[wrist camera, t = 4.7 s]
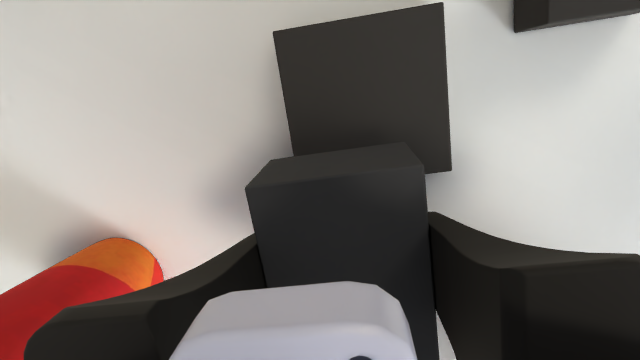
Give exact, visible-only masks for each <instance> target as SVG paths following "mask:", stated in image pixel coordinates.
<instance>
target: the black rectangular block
mask: <svg viewBox="0 0 640 360" xmlns="http://www.w3.org/2000/svg"><path fill="white" fill-rule="evenodd" d="M245 192H246V196H247V201H248V205H249V210H250V214H251V219H252V223H253V228H254V232H255V237H256V241H257V246H258V250H259V255H260V259H261V264H262V268H263V273H264V277H265V282H266V286H267V288H277V287H288V286H299V285H310V284H321V283H331V282H342V281H351V282H359V283H366V284H373V285H377V286H378V287H380V288H381V289H383V290H384V291H386V292H387V293H388V294H390V295H391V296H393V297H394V298H396V299H397V300H398V301H399V302H400V305H401V307H402V309H403V312H404V314H405V316H406V318H407V321H408V323H409V327H410V331H411V335H412V340H413V344H414V348H415V352H416V356H417V360H439V348H438V336H437V323H436V311H435V298H434V286H433V273H432V260H431V248H430V235H429V223H428V210H427V198H426V185H425V173H424V165H423V164H422V163H421V161H420V160H419V159H418V158H417V157H416V155H415V154H414V153H413V152H412V151H411V149H410V148H409V147H408V146H407V144H406V143H405V142H397V143H390V144H382V145H375V146H368V147H361V148H353V149H346V150H339V151H331V152H324V153H317V154H310V155H302V156H295V157H288V158H281V159H273V160H270V162H269V163H268V164H267V165H266V166H265V167H264V168H263V169H262V170H261V171H260V172H259V173H258V174H257V175H256V176H255V177H254V178H253V180H252V181H251V182H250V183H249V184H248V185H247V186H246V187H245Z"/></svg>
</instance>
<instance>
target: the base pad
mask: <svg viewBox="0 0 640 360" xmlns="http://www.w3.org/2000/svg"><path fill="white" fill-rule="evenodd" d="M273 38H274V43H275V49H276V55H277V61H278V67H279V72H280V78H281V84H282V90H283V96H284V102H285V107H286V113H287V119H288V125H289V131H290V137H291V142H292V148H293V154H294V157H295V156H302V155H310V154H317V153H324V152H331V151H339V150H346V149H353V148H361V147H368V146H375V145H382V144H390V143H397V142H405V143H406V144H407V146H408V147H409V148H410V149H411V151H412V152H413V153H414V154H415V155H416V157H417V158H418V159H419V160H420V161H421V163H422V164H423V165H424V173H425V174H430V173H438V172H447V171H452V163H451V143H450V124H449V104H448V84H447V65H446V45H445V26H444V6H443V2H440V3H434V4H428V5H422V6H417V7H411V8H405V9H399V10H394V11H388V12H382V13H376V14H371V15H365V16H359V17H353V18H348V19H342V20H336V21H330V22H325V23H319V24H313V25H307V26H302V27H296V28H290V29H284V30H279V31H274V32H273Z"/></svg>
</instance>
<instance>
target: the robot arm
mask: <svg viewBox="0 0 640 360" xmlns="http://www.w3.org/2000/svg"><path fill="white" fill-rule="evenodd" d="M428 223H429V235H430V248H431V260H432V273H433V286H434V298H435V309H436V311H437V313H438V316H439V318H440V320H441V322H442V325H443V327H444V329H445V331H446V334H447V336H448V338H449V340H450V343H451V345H452V348H453V350H454V353H455V356H456V359H457V360H640V255H638V254H619V253H585V252H574V251H563V250H555V249H547V248H541V247H536V246H530V245H525V244H520V243H516V242H512V241H508V240H505V239H501V238H498V237H494V236H491V235H488V234H486V233H483V232H480V231H478V230H475V229H473V228H470V227H468V226H466V225H463V224H461V223H459V222H457V221H455V220H453V219H450V218H448V217H446V216H444V215H442V214H440V213H437V212H428ZM24 360H417V356H416V352H415V348H414V344H413V340H412V335H411V331H410V327H409V323H408V321H407V318H406V316H405V314H404V312H403V309H402V307H401V305H400V302H399V301H398V300H397V299H396V298H394V297H393V296H391V295H390V294H388V293H387V292H386V291H384V290H383V289H381V288H380V287H378V286H377V285H373V284H366V283H359V282H351V281H342V282H331V283H321V284H310V285H299V286H288V287H277V288H267V286H266V282H265V277H264V273H263V268H262V264H261V259H260V255H259V250H258V246H257V241H256V237H255V233H254V234H252V235H250V236H248V237H247V238H245V239H243V240H242V241H240V242H239V243H237V244H235V245H234V246H232V247H231V248H229V249H227V250H226V251H224V252H223V253H221V254H219V255H217V256H216V257H214V258H212V259H210V260H209V261H207V262H205V263H203V264H202V265H200V266H198V267H196V268H194V269H192V270H189V271H187V272H185V273H183V274H181V275H178V276H176V277H174V278H171V279H168V280H166V281H163V282H160V283H158V284H155V285H152V286H150V287H147V288H144V289H140V290H137V291H134V292H131V293H127V294H123V295H120V296H116V297H112V298H108V299H103V300H99V301H94V302H89V303H84V304H80V305H75V306H69V307H66V308H64V309H62V310H61V311H60V312H59V313H57V314H56V315H55V316H54V317H53V318H51V319H50V320H49V321H48V322H46V323H45V324H44V325H43V326H41V327H40V328H39V329H38V330H37V331H35V332H34V334H33V335H32V336H31V337H30V338H29V340H28V341H27V344H26V346H25V349H24Z"/></svg>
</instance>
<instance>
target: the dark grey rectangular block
mask: <svg viewBox="0 0 640 360" xmlns="http://www.w3.org/2000/svg"><path fill="white" fill-rule="evenodd" d="M635 13H640V0H514V32H515V33H518V32H524V31H530V30H537V29H543V28H549V27H555V26H562V25H568V24H574V23H580V22H587V21H593V20H599V19H605V18H612V17H618V16H624V15H630V14H635Z"/></svg>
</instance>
